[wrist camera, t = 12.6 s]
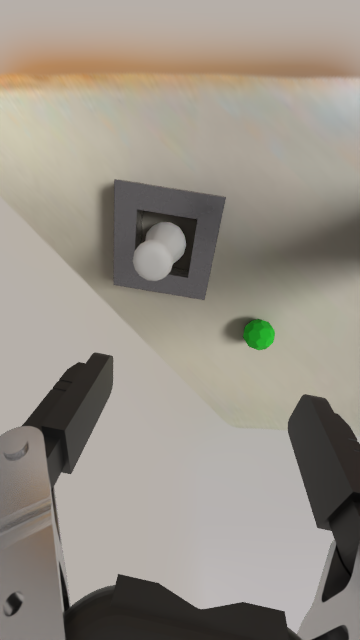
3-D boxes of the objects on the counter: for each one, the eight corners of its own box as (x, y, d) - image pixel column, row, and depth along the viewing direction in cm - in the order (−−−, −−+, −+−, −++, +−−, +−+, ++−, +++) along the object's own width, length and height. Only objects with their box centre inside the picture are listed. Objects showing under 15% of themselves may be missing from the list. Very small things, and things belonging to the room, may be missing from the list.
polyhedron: (269, 312, 40) (276, 326, 36) (272, 336, 42) (279, 352, 38) (239, 317, 41) (242, 332, 37) (243, 341, 44) (247, 357, 39)
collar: (223, 196, 33) (225, 197, 30) (204, 291, 40) (204, 299, 37) (122, 180, 33) (114, 179, 30) (120, 277, 40) (113, 284, 37)
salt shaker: (141, 235, 36) (111, 255, 25) (171, 211, 34) (154, 221, 23) (164, 266, 38) (147, 299, 27) (194, 245, 36) (189, 271, 25)
